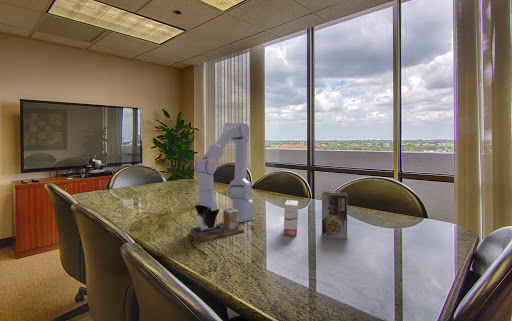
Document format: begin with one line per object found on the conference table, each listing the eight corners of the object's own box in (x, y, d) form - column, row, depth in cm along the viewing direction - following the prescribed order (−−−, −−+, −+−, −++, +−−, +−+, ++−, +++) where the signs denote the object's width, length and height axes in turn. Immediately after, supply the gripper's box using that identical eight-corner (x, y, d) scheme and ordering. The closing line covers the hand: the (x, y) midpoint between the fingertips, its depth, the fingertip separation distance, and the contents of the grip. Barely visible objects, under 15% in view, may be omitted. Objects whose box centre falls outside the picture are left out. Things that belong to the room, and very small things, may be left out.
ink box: (297, 236, 101) (297, 205, 100) (283, 235, 102) (283, 204, 101) (298, 229, 109) (298, 200, 109) (285, 228, 110) (285, 199, 110)
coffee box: (347, 233, 103) (347, 192, 102) (347, 239, 97) (347, 195, 96) (322, 231, 106) (323, 190, 105) (321, 237, 100) (321, 194, 99)
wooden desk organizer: (231, 224, 115) (230, 206, 115) (244, 232, 106) (243, 212, 106) (188, 233, 105) (188, 213, 105) (199, 242, 96) (198, 220, 96)
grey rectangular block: (197, 232, 104) (197, 214, 103) (212, 229, 107) (212, 211, 106) (201, 235, 100) (200, 216, 100) (217, 232, 104) (216, 214, 103)
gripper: (189, 188, 106) (190, 222, 107) (203, 194, 94) (204, 232, 95) (206, 186, 110) (206, 219, 111) (221, 192, 98) (222, 228, 99)
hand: (206, 225), depth 103 cm, fingers open, 7 cm apart
